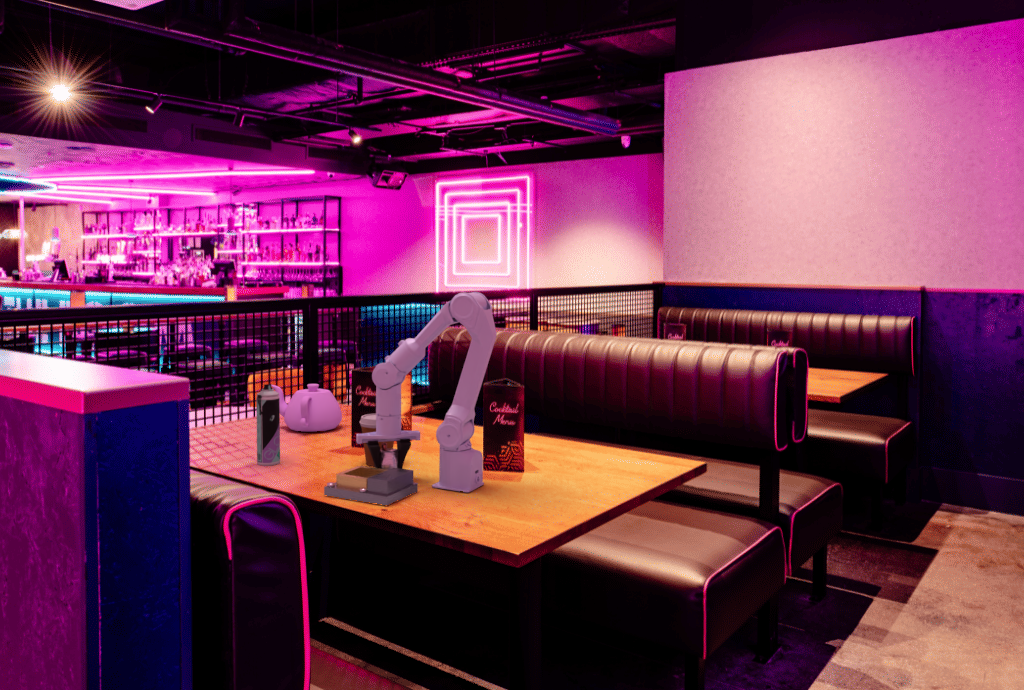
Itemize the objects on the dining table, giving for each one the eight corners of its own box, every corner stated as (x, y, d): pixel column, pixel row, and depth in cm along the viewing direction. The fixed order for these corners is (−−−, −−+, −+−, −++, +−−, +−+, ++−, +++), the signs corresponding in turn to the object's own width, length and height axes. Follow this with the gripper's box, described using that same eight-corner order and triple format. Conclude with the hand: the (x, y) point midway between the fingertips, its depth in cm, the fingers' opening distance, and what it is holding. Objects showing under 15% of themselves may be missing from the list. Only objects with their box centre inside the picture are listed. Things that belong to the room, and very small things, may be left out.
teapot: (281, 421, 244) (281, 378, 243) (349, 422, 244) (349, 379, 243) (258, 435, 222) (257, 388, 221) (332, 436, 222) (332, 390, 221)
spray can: (273, 466, 187) (272, 386, 185) (252, 465, 188) (251, 384, 186) (284, 461, 192) (283, 382, 191) (264, 459, 193) (263, 382, 192)
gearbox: (417, 491, 168) (417, 469, 167) (386, 506, 157) (386, 482, 156) (357, 482, 174) (357, 461, 174) (324, 495, 163) (324, 473, 163)
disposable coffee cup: (361, 469, 186) (360, 420, 185) (358, 459, 195) (358, 413, 194) (399, 466, 189) (400, 419, 188) (395, 457, 198) (395, 412, 197)
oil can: (402, 479, 178) (402, 442, 177) (391, 483, 174) (391, 446, 173) (385, 476, 180) (385, 440, 179) (374, 481, 176) (374, 444, 175)
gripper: (415, 409, 181) (415, 465, 183) (354, 412, 176) (354, 469, 178) (422, 415, 175) (422, 472, 176) (359, 418, 170) (359, 477, 171)
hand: (388, 472), depth 176 cm, fingers closed on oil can, 4 cm apart
